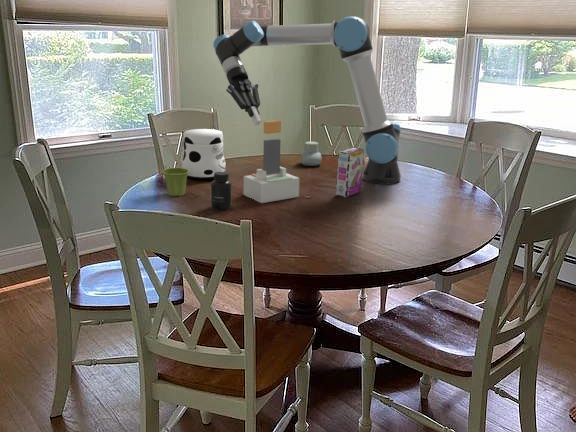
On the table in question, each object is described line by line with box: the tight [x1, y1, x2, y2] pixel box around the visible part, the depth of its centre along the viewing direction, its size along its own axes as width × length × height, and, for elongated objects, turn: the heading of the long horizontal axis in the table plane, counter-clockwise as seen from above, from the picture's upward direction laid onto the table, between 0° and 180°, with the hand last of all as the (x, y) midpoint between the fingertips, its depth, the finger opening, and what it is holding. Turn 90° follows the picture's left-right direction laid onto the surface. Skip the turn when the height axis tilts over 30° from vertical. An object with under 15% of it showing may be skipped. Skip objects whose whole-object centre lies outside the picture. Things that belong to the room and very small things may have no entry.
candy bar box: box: [335, 147, 365, 198], centre depth 217 cm, size 11×5×16 cm, turn 145°
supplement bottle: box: [210, 171, 232, 211], centre depth 198 cm, size 7×7×12 cm
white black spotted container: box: [181, 128, 226, 180], centre depth 236 cm, size 17×17×18 cm
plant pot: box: [162, 167, 189, 197], centre depth 213 cm, size 9×9×9 cm
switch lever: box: [262, 119, 282, 175], centre depth 209 cm, size 2×6×19 cm, turn 124°
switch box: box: [243, 165, 300, 204], centre depth 213 cm, size 12×16×10 cm
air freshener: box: [300, 141, 322, 167], centre depth 262 cm, size 11×8×10 cm
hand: (258, 123), depth 214 cm, fingers closed
